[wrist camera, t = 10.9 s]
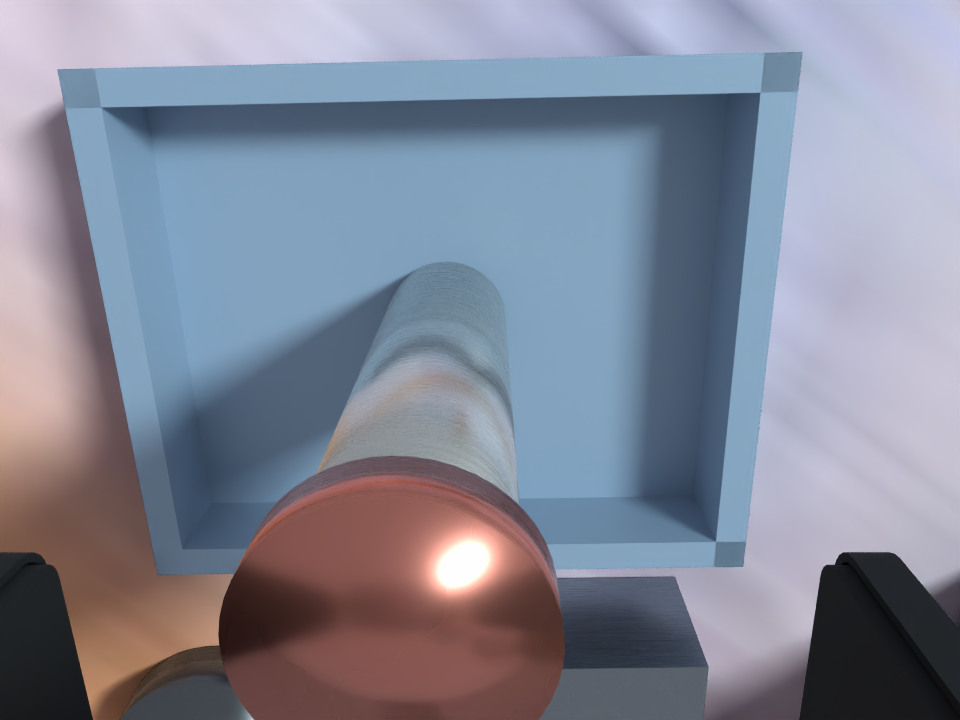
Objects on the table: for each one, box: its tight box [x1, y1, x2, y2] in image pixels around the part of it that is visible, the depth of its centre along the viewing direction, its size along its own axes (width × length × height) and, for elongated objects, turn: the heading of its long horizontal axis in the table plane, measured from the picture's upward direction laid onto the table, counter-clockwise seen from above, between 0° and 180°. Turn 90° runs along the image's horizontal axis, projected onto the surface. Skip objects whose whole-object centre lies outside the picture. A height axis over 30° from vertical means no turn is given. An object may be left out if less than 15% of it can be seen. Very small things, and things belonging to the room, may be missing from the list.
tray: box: [57, 52, 802, 575], centre depth 20 cm, size 16×13×3 cm
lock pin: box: [218, 262, 565, 720], centre depth 15 cm, size 4×4×13 cm
